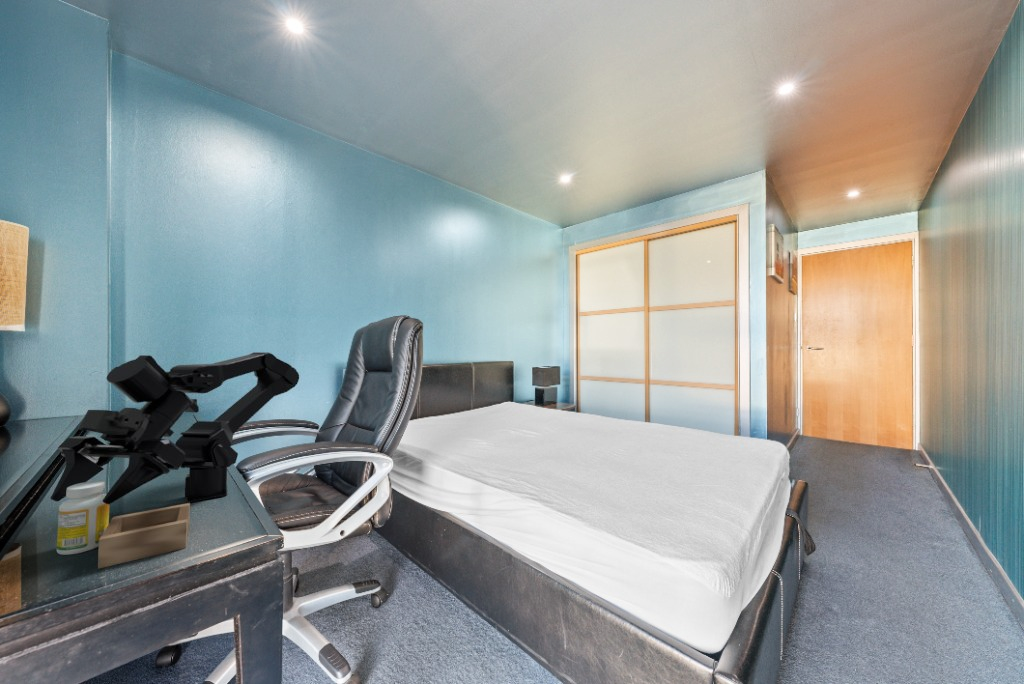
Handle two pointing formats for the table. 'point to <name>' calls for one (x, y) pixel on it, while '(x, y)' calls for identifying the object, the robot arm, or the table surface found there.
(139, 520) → the walnut holder
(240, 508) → the table surface
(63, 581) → the table surface
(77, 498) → the supplement bottle
